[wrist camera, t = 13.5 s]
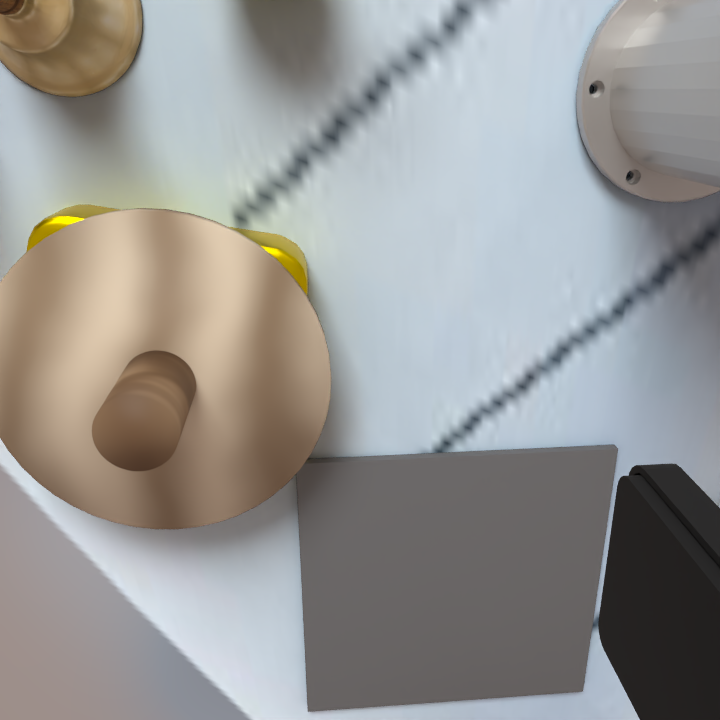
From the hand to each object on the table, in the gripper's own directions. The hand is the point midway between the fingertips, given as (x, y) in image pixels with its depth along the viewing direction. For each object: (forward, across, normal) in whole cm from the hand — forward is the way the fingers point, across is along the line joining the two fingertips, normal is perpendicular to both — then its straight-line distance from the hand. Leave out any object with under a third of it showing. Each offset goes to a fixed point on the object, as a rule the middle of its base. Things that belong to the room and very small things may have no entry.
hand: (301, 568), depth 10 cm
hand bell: (+33, +12, -10) cm, 37 cm away
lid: (+28, +9, +9) cm, 31 cm away
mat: (+33, -9, +28) cm, 44 cm away
